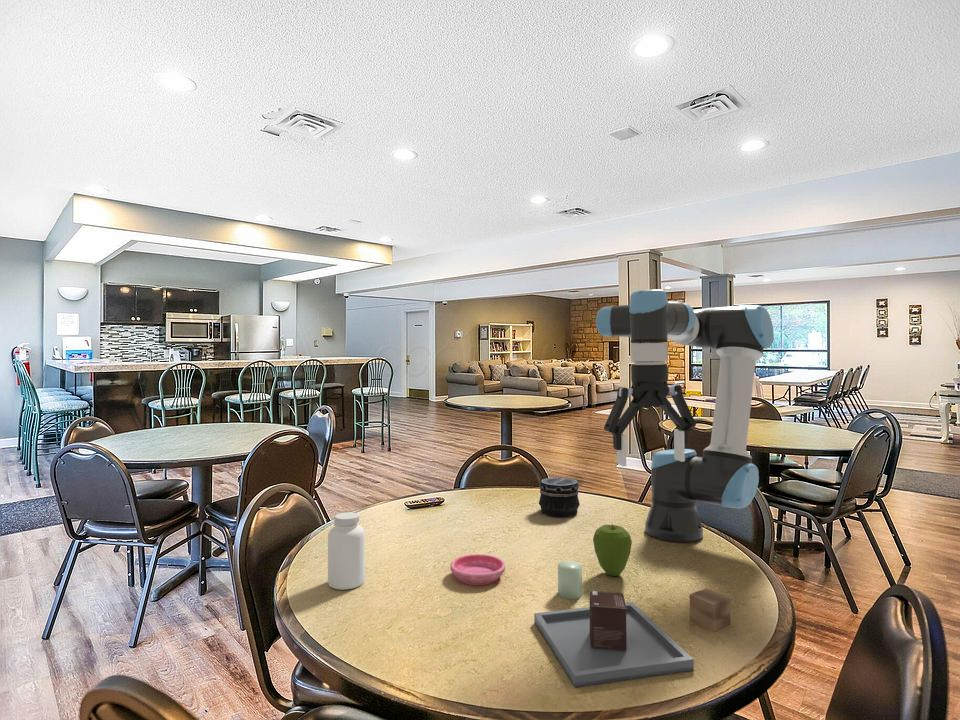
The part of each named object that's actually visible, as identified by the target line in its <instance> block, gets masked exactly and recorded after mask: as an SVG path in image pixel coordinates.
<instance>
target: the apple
mask: <svg viewBox="0 0 960 720" xmlns="http://www.w3.org/2000/svg"><path fill="white" fill-rule="evenodd" d="M592 538H593V539H592V541H593V548H594V552H595V555H596V557H597V561H598V564H599V566H600V568H601V569H602V570H603V571H604V573H606V575H608V576H612V577H613V576H614V577H619V576H620V575H621V574H622V573H623V571H624V570H625V569H626V566H627V563H628V562H629V561H628V560H629V558H630V555H631V550H632V544H633V540H632V538H631V533H630V532H629V531H627V529H625V528H624V527H623V526H621V525H615V524H613V523H612V524H602V525H601V526H600V527H598V528H596V529H595V532H594V534H593V537H592Z"/></svg>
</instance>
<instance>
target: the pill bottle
mask: <svg viewBox="0 0 960 720" xmlns="http://www.w3.org/2000/svg"><path fill="white" fill-rule="evenodd" d="M359 522H360V514H359V513H356V512H346V511H345V512H340V513H338V514H335V515H334V518H333V527H332V528H331V529H329V531H328V533H327V583H328V585H329V587H330V588H331V589H334V590H351V589H355V588H357V587H361V586H362V585H363V584H364V582H365V579H366V543H365V542H366V538H365V537H366V536H365V535H366V534H365V533H366V532H365V529H364V528H363V526H361V525H359Z"/></svg>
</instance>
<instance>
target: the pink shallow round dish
mask: <svg viewBox="0 0 960 720" xmlns="http://www.w3.org/2000/svg"><path fill="white" fill-rule="evenodd" d="M449 567H450V571H451V573H452V574H453V576H455V577H456V579H457V580H458V581H459V582H461V583H463V584H466V585H471V586H484V585H485V586H487V585H490V584H493V583H495V582H497V581H498V579H499V578H500V577H501V576H502V575H503V573H504V572H505V571H506V563H505V561H504V560H503V559H502V558H499V557H498V556H495V555H489V554H483V553H482V554H481V553H473V554H466V555H461V556H459V557H456V558H454V559H453V560H452V561H451V563H450V566H449Z"/></svg>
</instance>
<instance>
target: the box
mask: <svg viewBox="0 0 960 720" xmlns="http://www.w3.org/2000/svg"><path fill="white" fill-rule="evenodd" d="M588 595H589V596H588V597H589V607H590V645H591V648H596V649H609V650H620V651H626V650H627V634H626V604H625V603H626V601H625V596H624V593H623V592H611V591H610V592H609V591H593V590H592V591H589V592H588Z"/></svg>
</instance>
